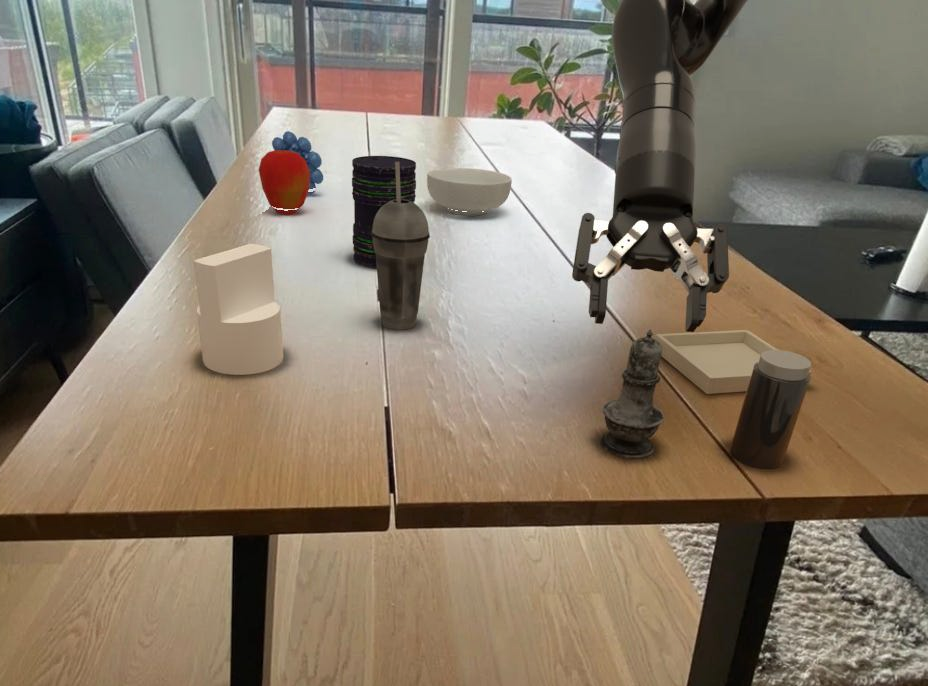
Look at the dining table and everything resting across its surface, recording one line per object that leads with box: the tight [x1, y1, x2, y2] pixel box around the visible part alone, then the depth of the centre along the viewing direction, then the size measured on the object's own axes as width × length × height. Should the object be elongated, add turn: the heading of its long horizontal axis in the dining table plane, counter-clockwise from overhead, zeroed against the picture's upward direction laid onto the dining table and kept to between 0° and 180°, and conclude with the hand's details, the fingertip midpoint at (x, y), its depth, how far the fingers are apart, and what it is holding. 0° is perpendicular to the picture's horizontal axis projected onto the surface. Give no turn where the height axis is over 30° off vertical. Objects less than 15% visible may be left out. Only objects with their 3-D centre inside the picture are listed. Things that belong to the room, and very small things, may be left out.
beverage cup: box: [371, 162, 431, 331], centre depth 95 cm, size 7×7×20 cm
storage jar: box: [351, 155, 417, 270], centre depth 120 cm, size 10×10×15 cm
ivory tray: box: [654, 329, 812, 395], centre depth 93 cm, size 13×13×2 cm
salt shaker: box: [599, 328, 665, 459], centre depth 72 cm, size 6×6×12 cm
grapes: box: [271, 130, 324, 195], centre depth 156 cm, size 12×7×12 cm, turn 75°
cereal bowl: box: [426, 167, 513, 217], centre depth 153 cm, size 17×17×7 cm
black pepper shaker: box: [729, 349, 812, 469], centre depth 72 cm, size 5×5×10 cm
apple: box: [258, 146, 310, 216], centre depth 144 cm, size 9×9×12 cm
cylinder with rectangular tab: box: [193, 243, 284, 376], centre depth 85 cm, size 9×9×12 cm
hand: (646, 324), depth 72 cm, fingers open, 8 cm apart
